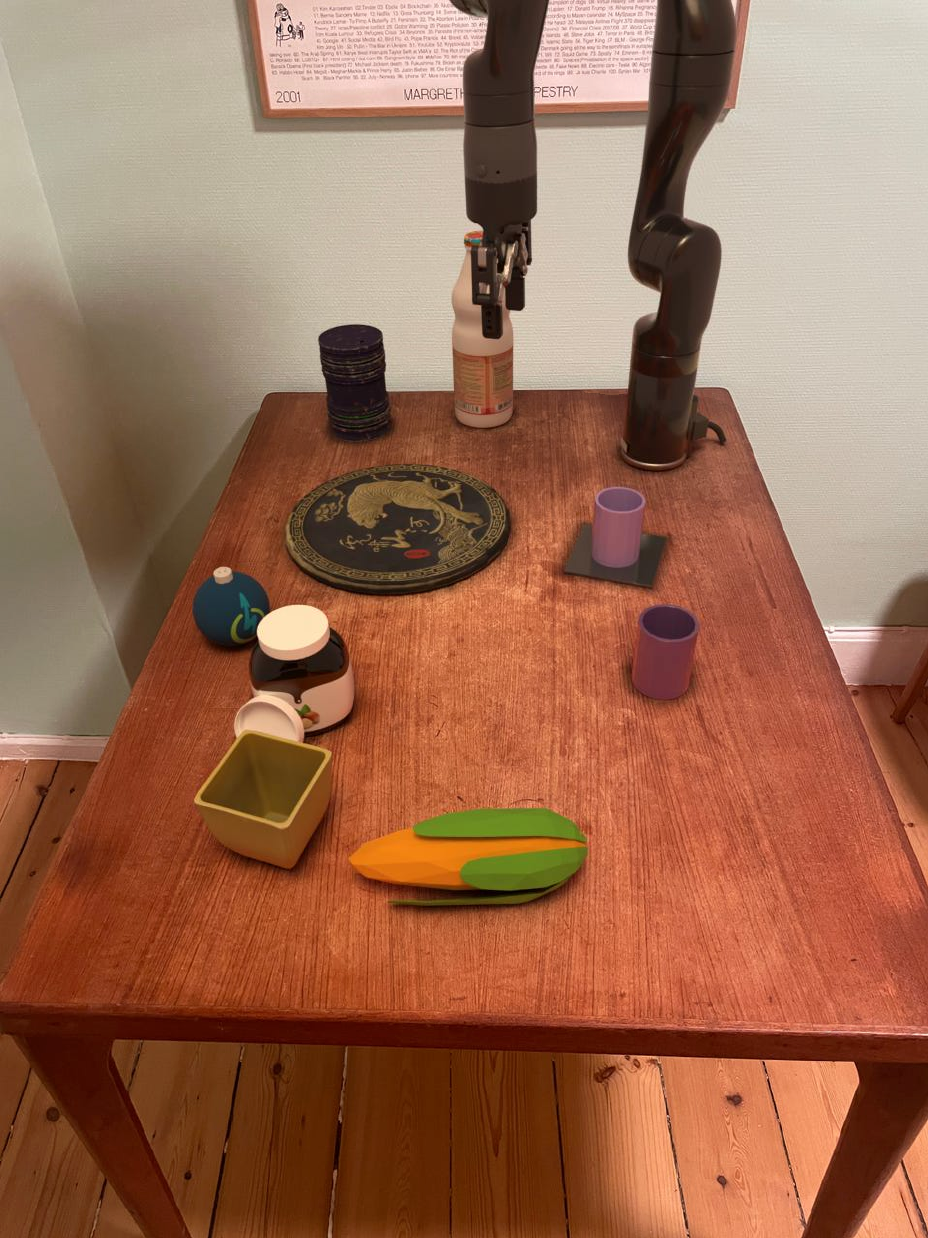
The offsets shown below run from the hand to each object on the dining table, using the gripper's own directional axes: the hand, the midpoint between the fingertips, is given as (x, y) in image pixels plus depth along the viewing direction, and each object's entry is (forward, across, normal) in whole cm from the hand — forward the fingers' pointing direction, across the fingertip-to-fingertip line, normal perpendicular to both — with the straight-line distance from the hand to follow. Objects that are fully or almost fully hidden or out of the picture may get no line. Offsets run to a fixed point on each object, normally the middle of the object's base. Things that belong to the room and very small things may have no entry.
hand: (504, 323), depth 102 cm
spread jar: (+27, -42, +9) cm, 51 cm away
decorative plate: (+27, -6, +14) cm, 31 cm away
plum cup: (+27, -24, -24) cm, 44 cm away
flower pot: (+26, -56, +4) cm, 62 cm away
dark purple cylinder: (+27, +20, +31) cm, 46 cm away
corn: (+27, -54, -13) cm, 62 cm away
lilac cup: (+27, -3, -15) cm, 31 cm away
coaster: (+28, -3, -15) cm, 32 cm away
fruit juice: (+28, +29, +13) cm, 42 cm away
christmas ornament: (+27, -32, +23) cm, 47 cm away
